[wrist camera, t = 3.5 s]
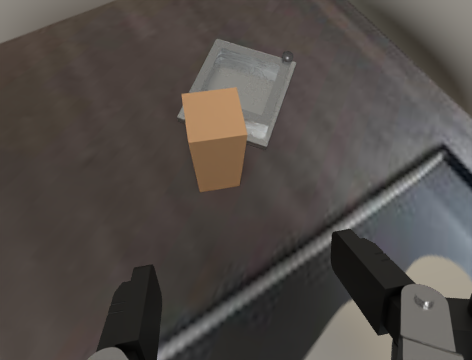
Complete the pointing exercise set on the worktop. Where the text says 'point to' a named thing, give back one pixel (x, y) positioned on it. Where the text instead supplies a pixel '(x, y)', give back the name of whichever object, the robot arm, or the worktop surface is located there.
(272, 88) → the plate
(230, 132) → the tan block
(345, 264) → the robot arm
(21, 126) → the worktop surface
